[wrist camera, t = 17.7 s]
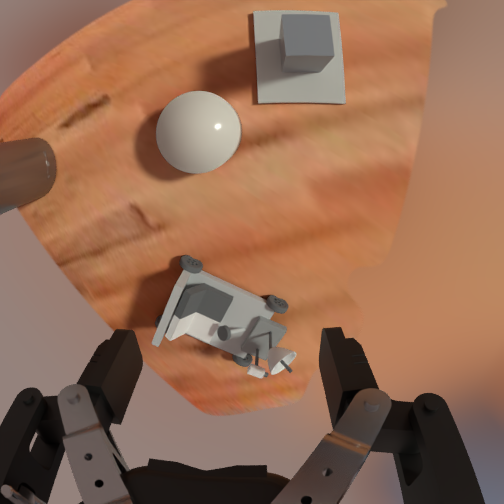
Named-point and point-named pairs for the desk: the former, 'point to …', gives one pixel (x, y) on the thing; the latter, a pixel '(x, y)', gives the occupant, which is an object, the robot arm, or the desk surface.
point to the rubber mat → (295, 83)
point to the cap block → (305, 42)
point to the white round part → (198, 132)
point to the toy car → (225, 319)
